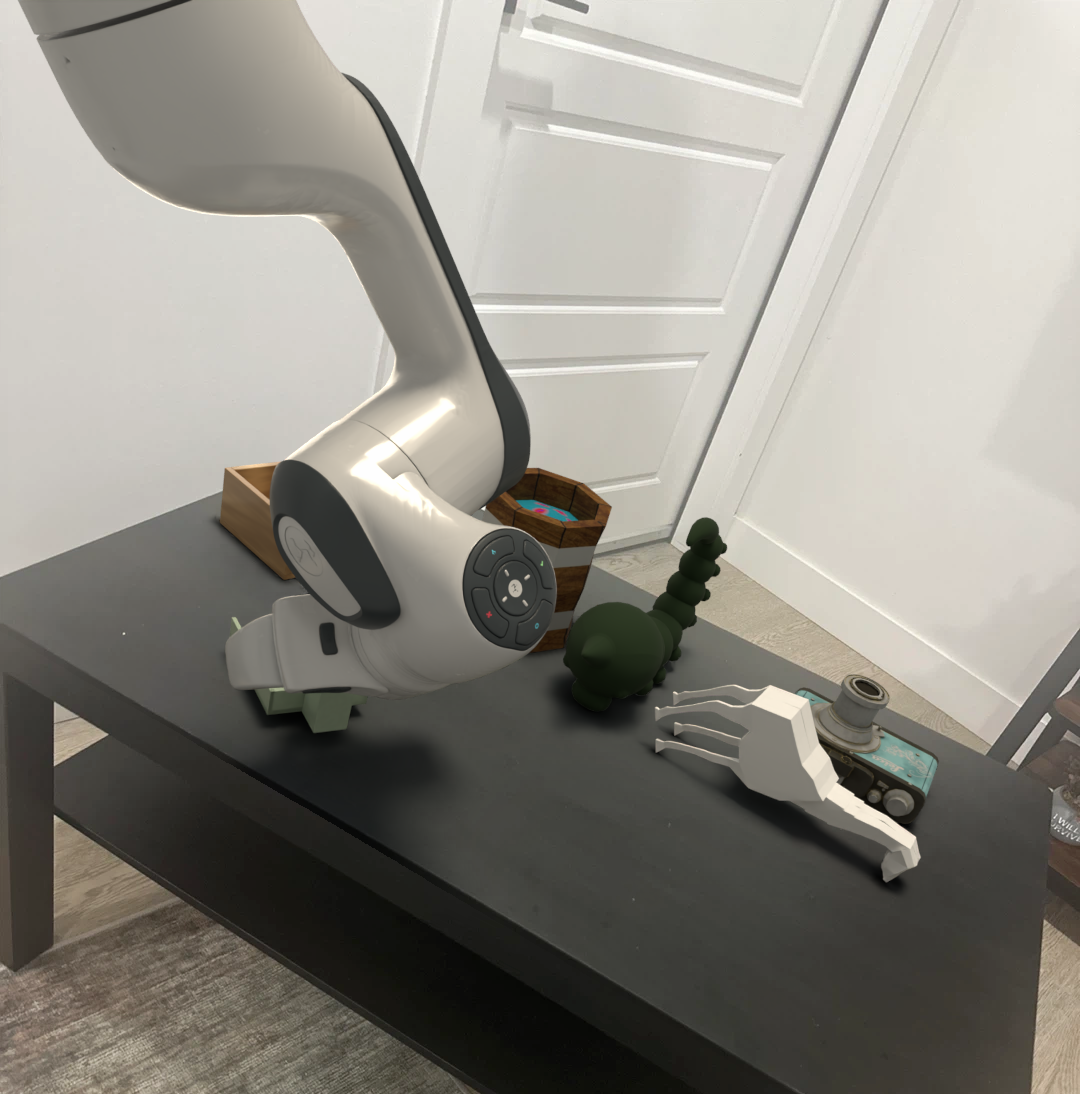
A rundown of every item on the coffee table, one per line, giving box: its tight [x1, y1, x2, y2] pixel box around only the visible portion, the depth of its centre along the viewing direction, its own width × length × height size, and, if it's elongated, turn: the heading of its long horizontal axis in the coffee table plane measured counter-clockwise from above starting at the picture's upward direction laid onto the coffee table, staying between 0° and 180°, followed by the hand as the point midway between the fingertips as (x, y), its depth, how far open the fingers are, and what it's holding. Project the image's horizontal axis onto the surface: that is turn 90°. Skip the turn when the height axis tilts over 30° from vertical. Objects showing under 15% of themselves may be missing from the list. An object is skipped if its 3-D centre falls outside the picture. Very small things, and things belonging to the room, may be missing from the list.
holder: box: [219, 461, 296, 581], centre depth 107 cm, size 12×12×7 cm
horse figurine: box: [654, 684, 922, 883], centre depth 92 cm, size 5×16×25 cm
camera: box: [794, 673, 940, 825], centre depth 100 cm, size 16×10×10 cm
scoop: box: [229, 616, 369, 734], centre depth 84 cm, size 14×9×10 cm, turn 30°
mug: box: [481, 467, 613, 654], centre depth 105 cm, size 20×14×15 cm
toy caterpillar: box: [562, 516, 728, 713], centre depth 99 cm, size 9×19×25 cm
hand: (330, 665), depth 81 cm, fingers closed on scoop, 3 cm apart
